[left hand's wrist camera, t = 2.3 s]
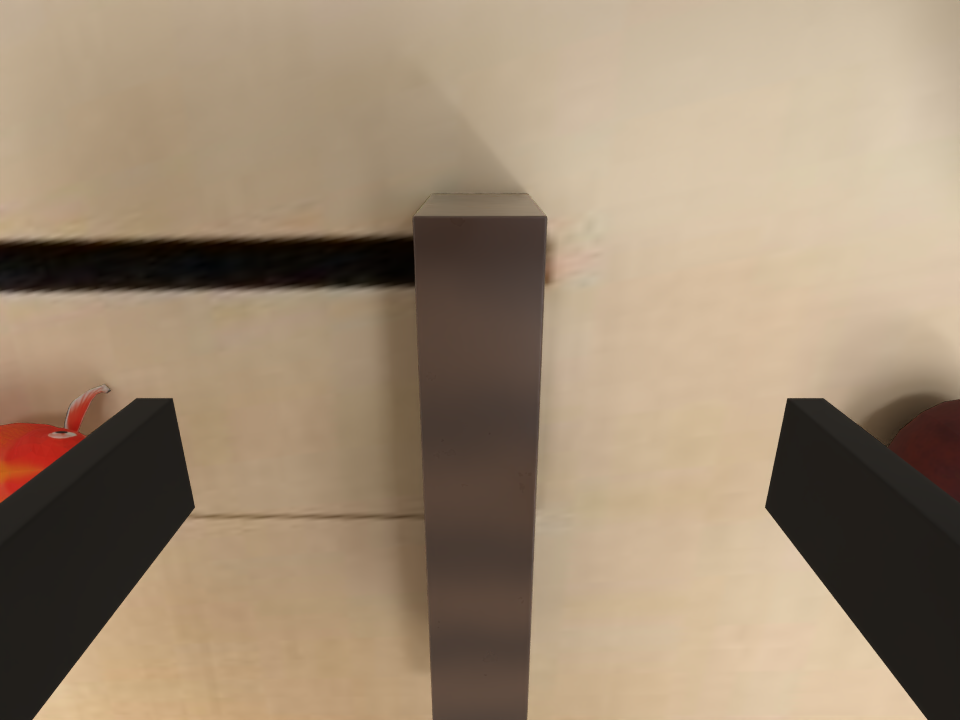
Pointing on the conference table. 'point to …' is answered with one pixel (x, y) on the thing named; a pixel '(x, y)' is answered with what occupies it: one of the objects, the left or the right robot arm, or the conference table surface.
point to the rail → (479, 442)
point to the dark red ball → (934, 445)
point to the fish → (39, 444)
